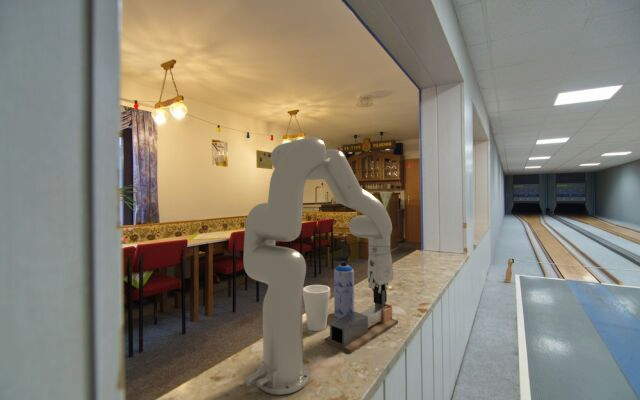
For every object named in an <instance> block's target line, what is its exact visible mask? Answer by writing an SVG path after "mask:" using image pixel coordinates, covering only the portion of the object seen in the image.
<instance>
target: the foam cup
mask: <svg viewBox="0 0 640 400" xmlns="http://www.w3.org/2000/svg"><path fill="white" fill-rule="evenodd" d="M330 297H331V287H329V286H328V285H326V284H325V285H323V284H310V285H306V286H303V296H302V298H303V302H304V310H305V319H306V325H307V328H308V330H309V331H313V332H318V331H319V332H320V331H324V330H326V328H327V322H328V315H329V308H330V307H329V305H330Z"/></svg>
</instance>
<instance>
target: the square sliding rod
mask: <svg viewBox="0 0 640 400" xmlns="http://www.w3.org/2000/svg"><path fill="white" fill-rule="evenodd" d="M381 293H382V304H377V303H374V305H375V306H374V305H373V306H374V307H372V306H371V307H372V308H371V307H370V308H368V309H366V310H364V311H362V312H360V314H363V315H367V316H368V328H369V327H371V326H372V325H374V324H376V323H378V322H379V321H381V320H383V310H385V309H387V308H388V306H385V303H386V302H385V290H384V289H381Z"/></svg>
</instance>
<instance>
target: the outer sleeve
mask: <svg viewBox="0 0 640 400" xmlns="http://www.w3.org/2000/svg"><path fill="white" fill-rule="evenodd" d="M360 313H361V312H360ZM360 313H359V312H357V311H354V312H352V313H350V314H348V315H346V316H343V317H341V318H337V319H335V320H333V321H330V322H329V336H330V341H331V342H334V343H336V344H338V345H340V346H343V347H345V346H347V345H349V344H350V343H352V342H354V341H355V340H357V339H359V338H360V337H362V336H364V335H365V334H367V333H368V316H367V315H363V314H360Z"/></svg>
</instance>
